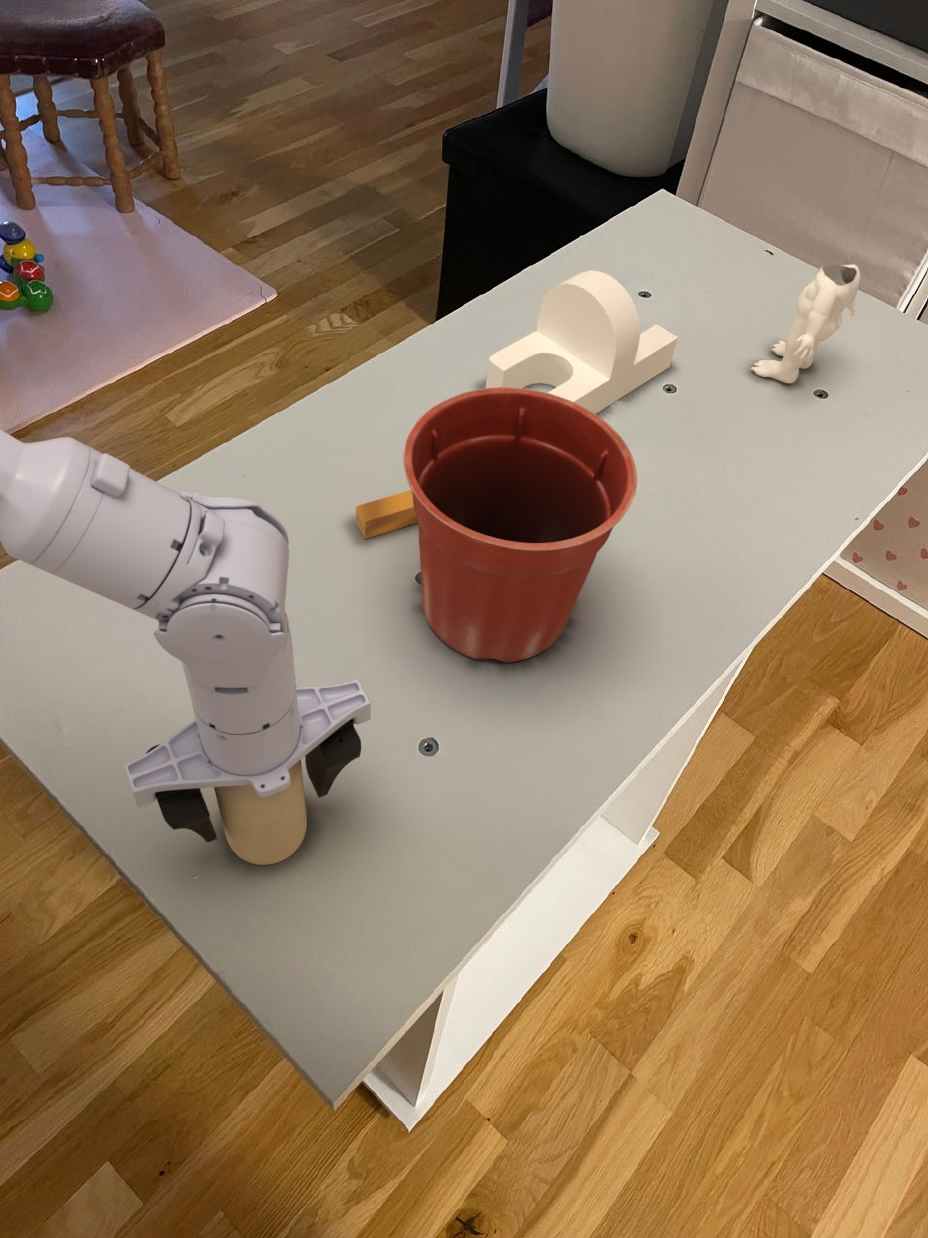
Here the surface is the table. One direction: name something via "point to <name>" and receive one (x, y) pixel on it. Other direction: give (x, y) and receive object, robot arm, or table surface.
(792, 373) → the toy creature
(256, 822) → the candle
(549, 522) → the flower pot
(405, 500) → the fry stick
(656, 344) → the block with arch cutout
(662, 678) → the table surface
